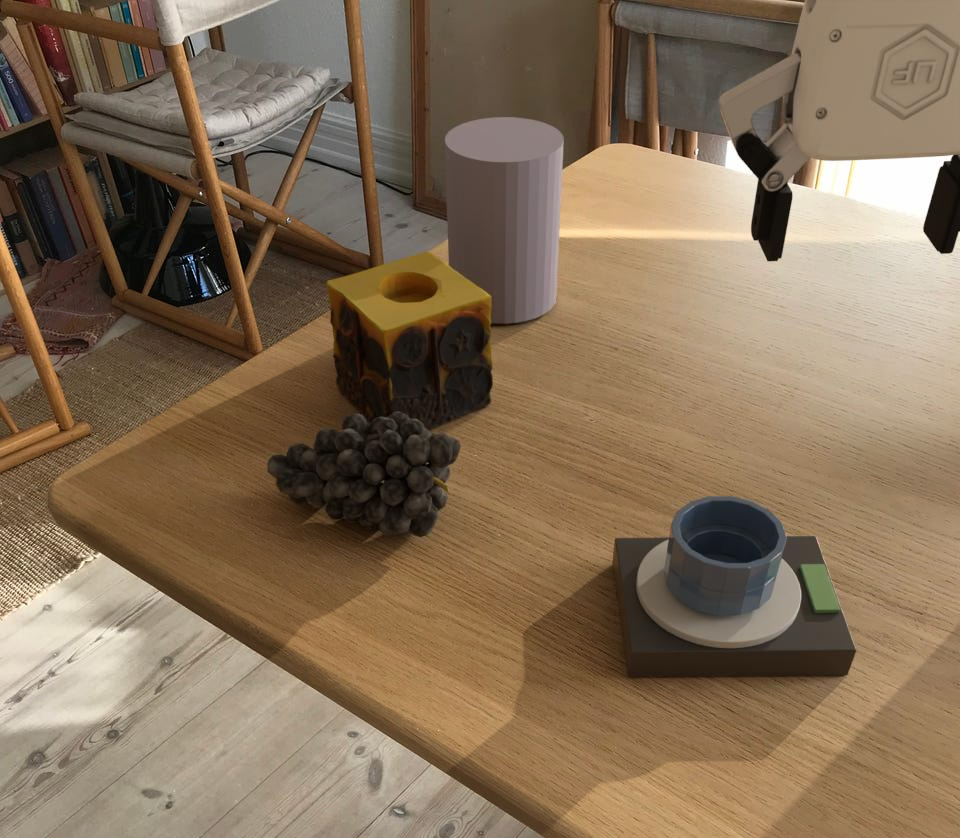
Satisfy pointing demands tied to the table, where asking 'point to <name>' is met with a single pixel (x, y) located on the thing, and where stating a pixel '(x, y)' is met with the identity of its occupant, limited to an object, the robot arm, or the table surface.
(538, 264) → the container
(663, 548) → the scale
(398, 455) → the fruit
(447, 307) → the candle
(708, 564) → the bowl
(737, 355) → the table surface
